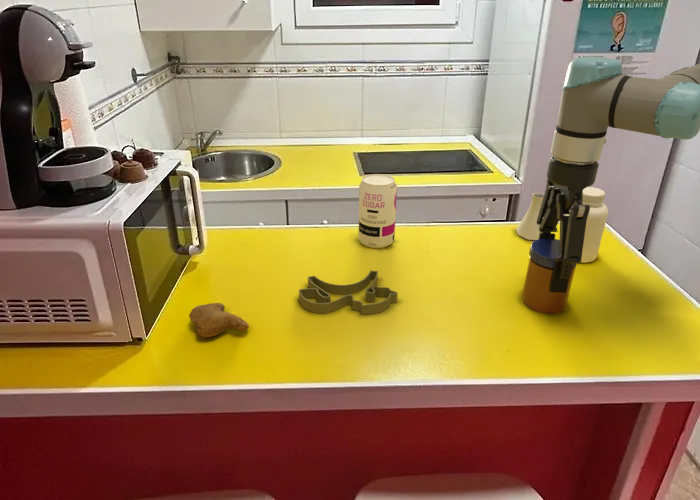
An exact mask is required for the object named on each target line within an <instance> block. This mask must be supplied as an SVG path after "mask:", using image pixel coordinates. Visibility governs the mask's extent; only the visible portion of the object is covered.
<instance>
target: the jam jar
mask: <svg viewBox="0 0 700 500" xmlns="http://www.w3.org/2000/svg"><path fill="white" fill-rule="evenodd" d="M576 268H577V265H576V266H574V267H572V269H571V274H570V278H569V282H568V286H567V290H566V293H560V292H550V291H549V288H550V283H551V279H552V274H553V270H554V268H549V267H545V266H542V265H540V264H538V263H536V262H534V261H533V260H532V259H531V258H530V256H529V258H528V263H527V267H526V273H525V278H524V284H523V289H522V294H521V301H522V303H523V304H524V305H525V306H526V307H528V308H529V309H531V310H532V311H535V312H538V313H541V314H549V315H554V314H559V313H562V312H564V311H565V310H566V309H567V305H568V302H569V298H570V293H571V289H572V285H573V281H574V277H575V274H576V273H575V272H576Z"/></svg>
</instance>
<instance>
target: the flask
mask: <svg viewBox="0 0 700 500" xmlns="http://www.w3.org/2000/svg"><path fill="white" fill-rule="evenodd" d="M544 194H545V193H543V192H534V193H531V198H532V199H531V202H530V206H529V207H528V209H527V211H526V213H525V215H524V216H523V218H522V219H521V221H520V222H519V224H518V226H517V227H516V228H515V231H516V233H517V235H518V236H520V237H521V238H524V239H525V240H529V241H530V240H531V241H535V240H538V239H539V234H540V233H541V232H539V226H540V225H537V218H538V215H539V211H540V208H541V204H542V201H543V197H544ZM543 218H544V217H543Z"/></svg>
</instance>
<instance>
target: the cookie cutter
mask: <svg viewBox="0 0 700 500" xmlns="http://www.w3.org/2000/svg"><path fill="white" fill-rule="evenodd" d="M378 280H379V271H378V270H369V272H368V274H367V275H366V276H365V277H364V278H363V279H361V280H359V281H357V282H354V283H350V284H334V283H330V282H327V281H324V280H322V279H320V278H318V277H317V276H316V275H310V276H307V287H308V288H307V287H306V288H299V289H298V300H299V303H300V305H301V306H302V307H303V308H304V309H305V310H306V311H308V312H311V313H313V314H314V313H315V314H329V313H332V312H335V311H337V310H340V309H341V308H343V307H346V306H348V305H351V309H352V310H353V311H357V312H360V314H361V315H362V316H363V315H364V316H365V315H374V314H379V313H381V312H384V311H386V310H387V309H389V308H390V306H391V304H395V303H398V291H395V290H393V289H391V288H390V287H386V286H377V285H378ZM371 281H372V283H371ZM370 283H371V284H370ZM369 284H370V286H368V285H369ZM365 288H366V289H365ZM364 289H365V301H366V302H367V304H366V303H365V304H364V303H363V301H361V300H356V299H355V297H354V295H353V294H355V293H359V292H361V291H363V290H364ZM331 294H332V295H339V296H340V297H339V298H337V299H335V300H332V301H331ZM341 295H344V296H341ZM376 297H377V298H386V299H384V300H382V301H379V302H375V301H376ZM309 299H316V300H317V302H315V301H311V300H309ZM374 302H375V303H374Z"/></svg>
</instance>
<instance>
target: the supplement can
mask: <svg viewBox="0 0 700 500" xmlns="http://www.w3.org/2000/svg"><path fill="white" fill-rule="evenodd" d="M397 196H398V185H397V183H396V181H395V178H394V177H393V176H391V175H389V174H388V175H387V174H383V173H382V174H381V173H373V174H368V175H364V176H363V177H362V179H361V181H360V183H359V186H358V235H357V236H358V237H357V238H358V240H359V242H360V243H361V244H362V245H363V246H365V247H367V248H372V249H383V248H386V247H387V248H388V247H389V246H390V245H392V244H393V242H395V236H396V235H395V233H396V215H397V214H396V213H397Z"/></svg>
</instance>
